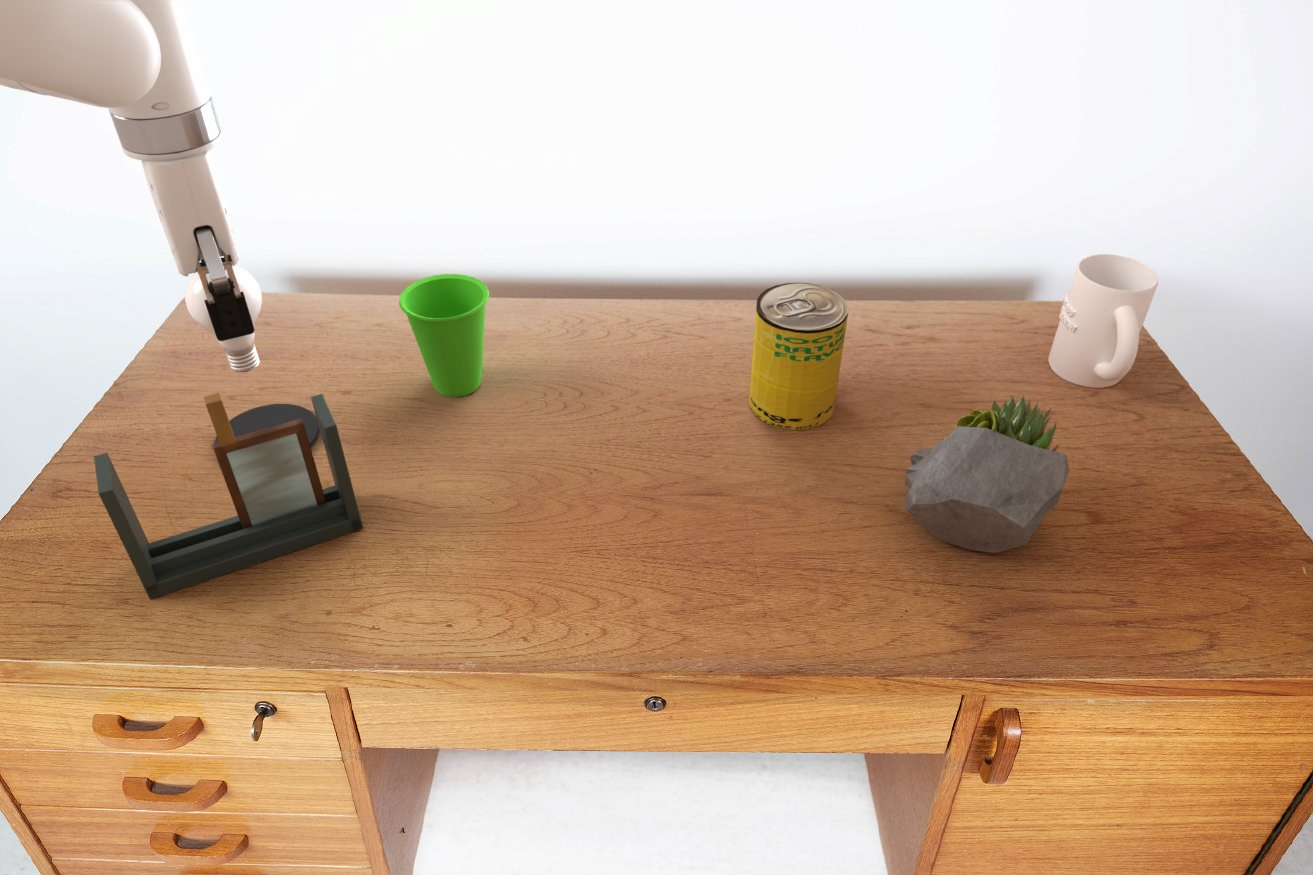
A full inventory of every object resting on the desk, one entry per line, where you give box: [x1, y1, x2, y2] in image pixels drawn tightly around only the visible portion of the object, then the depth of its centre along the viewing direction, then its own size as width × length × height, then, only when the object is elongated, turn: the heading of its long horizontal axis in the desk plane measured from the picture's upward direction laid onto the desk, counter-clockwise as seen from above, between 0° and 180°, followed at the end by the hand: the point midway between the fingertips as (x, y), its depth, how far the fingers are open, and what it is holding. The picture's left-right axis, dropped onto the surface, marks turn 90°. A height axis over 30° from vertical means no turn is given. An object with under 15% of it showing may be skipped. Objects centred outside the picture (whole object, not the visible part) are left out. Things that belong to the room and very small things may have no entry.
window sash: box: [203, 392, 326, 529], centre depth 81 cm, size 7×1×14 cm, turn 118°
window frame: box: [93, 393, 364, 600], centre depth 82 cm, size 18×5×12 cm, turn 118°
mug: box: [1047, 253, 1159, 389], centre depth 102 cm, size 8×12×12 cm
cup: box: [398, 273, 490, 398], centre depth 101 cm, size 9×9×11 cm
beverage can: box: [748, 282, 849, 431], centre depth 99 cm, size 9×9×12 cm
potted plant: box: [902, 394, 1070, 554], centre depth 86 cm, size 12×13×15 cm
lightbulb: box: [184, 264, 263, 373], centre depth 89 cm, size 6×6×11 cm
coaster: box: [214, 403, 321, 448], centre depth 97 cm, size 10×10×1 cm
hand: (229, 315), depth 88 cm, fingers closed on lightbulb, 6 cm apart
